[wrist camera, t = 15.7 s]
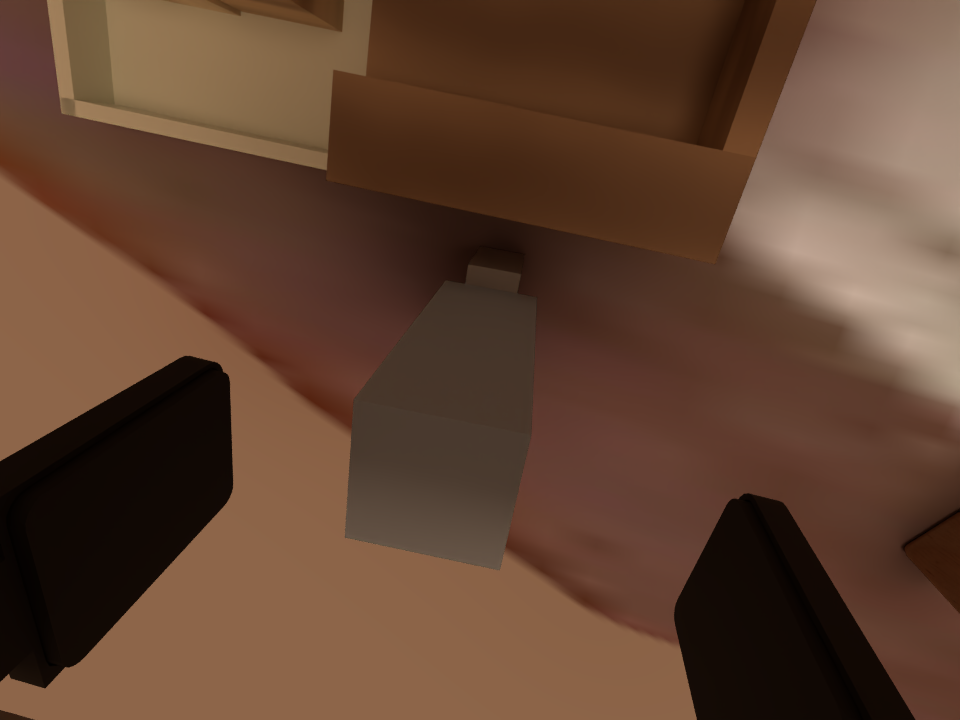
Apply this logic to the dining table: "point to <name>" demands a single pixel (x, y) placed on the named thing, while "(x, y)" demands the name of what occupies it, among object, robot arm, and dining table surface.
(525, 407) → the square grey bottle
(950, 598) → the tan angled rod fixture
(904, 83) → the dining table surface
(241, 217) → the dining table surface
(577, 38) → the groove board
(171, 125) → the tray
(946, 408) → the dining table surface
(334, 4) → the oak block
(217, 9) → the birch block
